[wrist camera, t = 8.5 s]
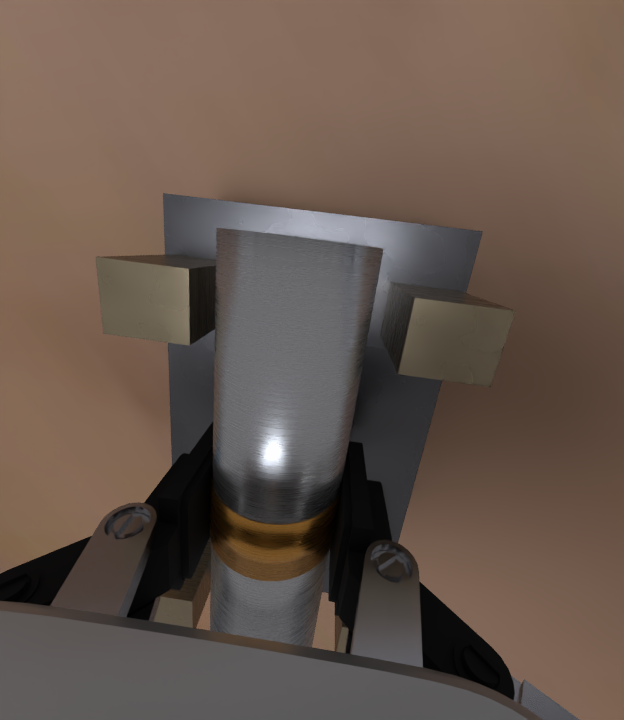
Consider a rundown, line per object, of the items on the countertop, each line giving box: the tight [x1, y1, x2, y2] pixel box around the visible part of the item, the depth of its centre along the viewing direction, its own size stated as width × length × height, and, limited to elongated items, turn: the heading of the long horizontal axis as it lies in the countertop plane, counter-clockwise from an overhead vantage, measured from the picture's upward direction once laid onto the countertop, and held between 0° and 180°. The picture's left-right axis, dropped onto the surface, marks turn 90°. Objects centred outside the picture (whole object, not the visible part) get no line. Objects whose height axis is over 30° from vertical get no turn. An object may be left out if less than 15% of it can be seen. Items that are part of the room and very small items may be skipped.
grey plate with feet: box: [96, 193, 515, 653], centre depth 14 cm, size 11×18×9 cm, turn 173°
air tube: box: [210, 228, 384, 648], centre depth 11 cm, size 16×4×4 cm, turn 173°
